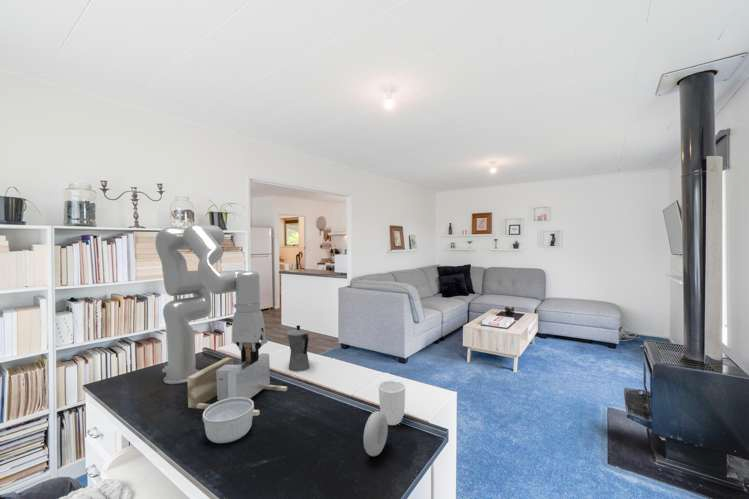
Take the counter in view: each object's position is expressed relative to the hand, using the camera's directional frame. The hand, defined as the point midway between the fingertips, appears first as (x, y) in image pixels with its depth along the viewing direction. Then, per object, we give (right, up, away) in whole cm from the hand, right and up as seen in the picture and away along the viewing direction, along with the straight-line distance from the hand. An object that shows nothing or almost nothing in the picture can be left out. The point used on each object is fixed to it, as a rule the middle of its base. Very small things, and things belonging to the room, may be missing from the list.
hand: (250, 360), depth 111 cm
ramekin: (+1, -14, -19) cm, 23 cm away
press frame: (-3, -13, +1) cm, 14 cm away
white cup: (+48, -13, -14) cm, 51 cm away
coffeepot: (+11, -13, +28) cm, 32 cm away
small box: (-7, -14, +2) cm, 15 cm away
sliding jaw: (0, -12, 0) cm, 12 cm away
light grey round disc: (+43, -13, -29) cm, 54 cm away
